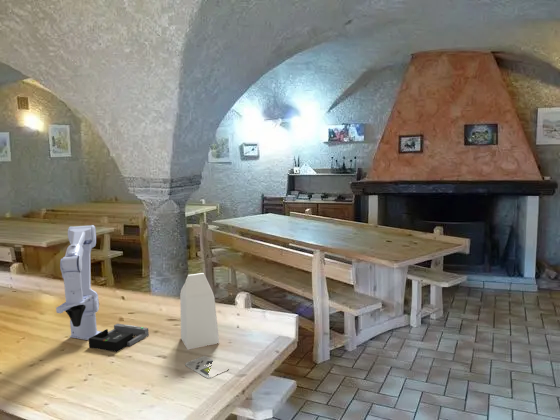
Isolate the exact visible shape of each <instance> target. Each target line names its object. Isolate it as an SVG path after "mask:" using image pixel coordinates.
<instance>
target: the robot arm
mask: <svg viewBox="0 0 560 420" xmlns="http://www.w3.org/2000/svg"><path fill="white" fill-rule="evenodd" d="M67 238H68V241H69V244H70V245H68V246H67V248H66V251H65V255H64V256H63V257H62V258H60V262H59V263H60V264H59V268H60V272H61V277H62V279H63V285H64V296H65V301H64V302H63V303H62V304H60V305H59V306H56V307H55V309H56V314H63V312H66V314H67V316H68V317H69V319H70V320H69V324H70V335H69V338H73V339H79V340H84V341H89V338H91V337H93V336H94V335H96V334H98V333H100V332H102V330H101V331H100V330H98V327H97V318H96V317H97V316H96V315H97V314H96V313H98V312H99V309H100V301H99V294H98V293H97V291H95V290H93V289H92V287H91V283H92V281H91V280H92V279H91V275H92V274H91V269H92V267H91V266H92V265H91V253H92V249H93V248H94V247H96V244H97V230H96V226H95V225H94V224H90V225H79V226H69V227H68V229H67Z"/></svg>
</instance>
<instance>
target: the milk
mask: <svg viewBox="0 0 560 420" xmlns="http://www.w3.org/2000/svg"><path fill="white" fill-rule="evenodd" d="M179 295H180V296H179V297H180V339H181V341H182V343H183V344H184V346H185V348H186V350H187V351H188V350H193V349H198V348H203V347H207V345H208V346H212V345H216V344H217V343H218V344H220V337H219V327H218V320H217V309H216V298H215V294H214V292H213V289H212V287H211V285H210V283H209V281H208V279H207V276H206V275H205V273H204V272H199V273H194V274H193V273H192V274H187V277H186V279H185V282H184V283H183V286H182V287H181V289H180V292H179ZM218 344H217V345H218Z"/></svg>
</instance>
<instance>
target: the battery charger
mask: <svg viewBox="0 0 560 420" xmlns="http://www.w3.org/2000/svg"><path fill="white" fill-rule="evenodd" d="M108 332H109V329H108V328H107V329H104V330H101V332H100V333H98V334H96V335H94V336H93V337H91V338H89V340H88V347H89V349H96V350H102V351H108V352H115V353H117V352H119V351H121V350H123V349H124V348H126V347H128V346H127V342H128V341H130V340H132V339H133V338H135V337H134V335H133V333H129V332H122V331H119V332H118V333H115V334H113V335H108Z"/></svg>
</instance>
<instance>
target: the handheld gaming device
mask: <svg viewBox="0 0 560 420" xmlns="http://www.w3.org/2000/svg"><path fill="white" fill-rule="evenodd" d="M213 360H214V359H213V358H210V357H208V356H207V355H202V356H200V357H197V358H195V359H192V360H189V361H186V362H184V363H185V364H184V365H185V367H186V368H188V369H191V370H192V371H193V372H195V373H197V374H199V375H200V374H201V375H200V376H202V377H204V378H205V377H206V379H207V378H210V379H212V378H211V377H209V374H208V373H209V371H210V369H211V368H210V369H209V367H211V366H212V365H211V366H209V367H207V366H208V365H209V363H210V364H212V362H213ZM204 365H205V366H204ZM206 365H207V366H206ZM208 370H209V371H208ZM207 376H208V377H207Z"/></svg>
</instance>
